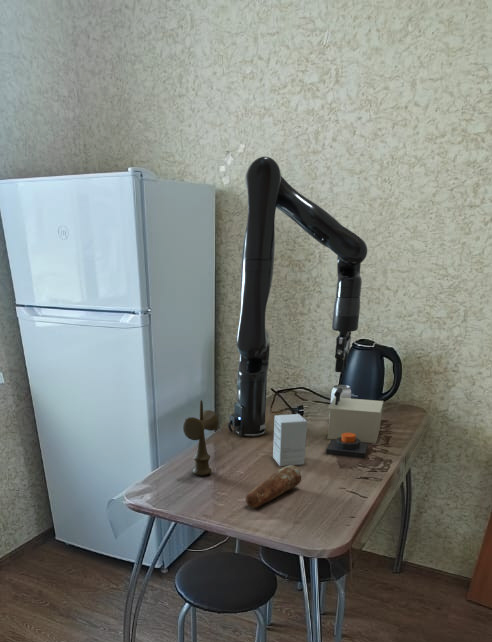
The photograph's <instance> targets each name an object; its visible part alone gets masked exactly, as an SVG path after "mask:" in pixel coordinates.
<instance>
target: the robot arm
mask: <svg viewBox="0 0 492 642" xmlns="http://www.w3.org/2000/svg"><path fill="white" fill-rule="evenodd" d="M244 180H245V186H246V189H247V221H246V227H245V231H244V237H243V243H242V250H241V251H242V252H241V261H240V262H241V263H240V313H239V314H240V315H239V319H238V320H239V321H238V327H237V328H238V329H237V334H236V340H235V341H236V342H235V344H236V348H237V351H238V353H239V361H238V366H237V367H238V368H237V373H236V375H237V376H236V378H237V379H236V381H237V382H236V383H237V384H236V402H234V409H233V410H234V411H233V413H231V414H229V420H228V421H229V422H228V424H227V428H228V430H229V431H230V432H229V433H233V432H234V433H236V434H237V435H238V436H239V437H250V438H251V437H260V436H263V435H265V434H266V428H267V427H266V424H267V423H266V411H267V410H266V409H267V387H268V385H267V384H268V372H269V364H270V347H271V340H270V339H271V337H270V334H269V331H268V329H267V328H266V311H267V305H268V301H269V297H270V292H271V289H272V283H273V277H274V271H275V270H274V267H275V253H276V252H275V250H276V242H275V241H276V229H275V228H276V227H275V226H276V225H275V222H276V221H275V219H276V212H277V211H276V210H277V209H278V210H279V211H281V212H282V213H283V214H284V215H286V216H287V217H288V218H290V220H292V221H293V222H294V223H295V224H296V225H298V227H300V228H301V229H302V230H303V231H304V232H306V234H308V235H309V236H310V237H312V239H314V240H315V241H317V242H318V243H319V244H321V245H322V246H323V247H326V248H328V249H329V250H330V251H332V252H333V253H334V254H335V255H336V256H337V257H336V266H337V267H336V271H337V279H336V280H337V281H336V289H335V299H334V303H333V312H332V313H333V314H332V323H331V329H332V330H333V331H334V332H338V335H337V336H336V338H335V349H334V350H335V353H334V358H335V368H334V372H335V373H343V372H344V368H346V367H347V366H348V365H347V364H348V355H349V353H350V350H351V349H350V348H351V341H352V332H356V331H357V330H358V329H359V320H360V311H361V294H362V283H363V281H362V276H361V265H362V263H363V262H364V261H365V259H366V258H367V256H368V246H367V243H366V241H365V240H364V239H362V238H361V237H360V236H359V235H357V234H356V233H355V232H353V231H351V230H350V229H348V228H347V227H345V226H344V225H343V224H342V223H341V222H339V220H337V219H336V218H335V217H334V216H333V215H332V214H330V212H328V211H327V210H325V208H322V207H321V206H320V205H319V204H317V203H316V202H314V201H312V200H311V199H309V198H308V197H306V196H305V195H303V194H302V193H300V192H299V191H298V190H296V189H295V188H294V187H293V186H292V185H290V184H289V182H287V180H286V179H285V177H283V175H282V171H281V168H280V166H279V164H278V163H277V161H275V159H273V158H272V157H270V156H260V157H258V158H256V159H254V160H253V161H252V162H251V163H250V164H249V166H248V167H247V170H246V173H245V178H244ZM231 426H233V429H232V427H231Z"/></svg>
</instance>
